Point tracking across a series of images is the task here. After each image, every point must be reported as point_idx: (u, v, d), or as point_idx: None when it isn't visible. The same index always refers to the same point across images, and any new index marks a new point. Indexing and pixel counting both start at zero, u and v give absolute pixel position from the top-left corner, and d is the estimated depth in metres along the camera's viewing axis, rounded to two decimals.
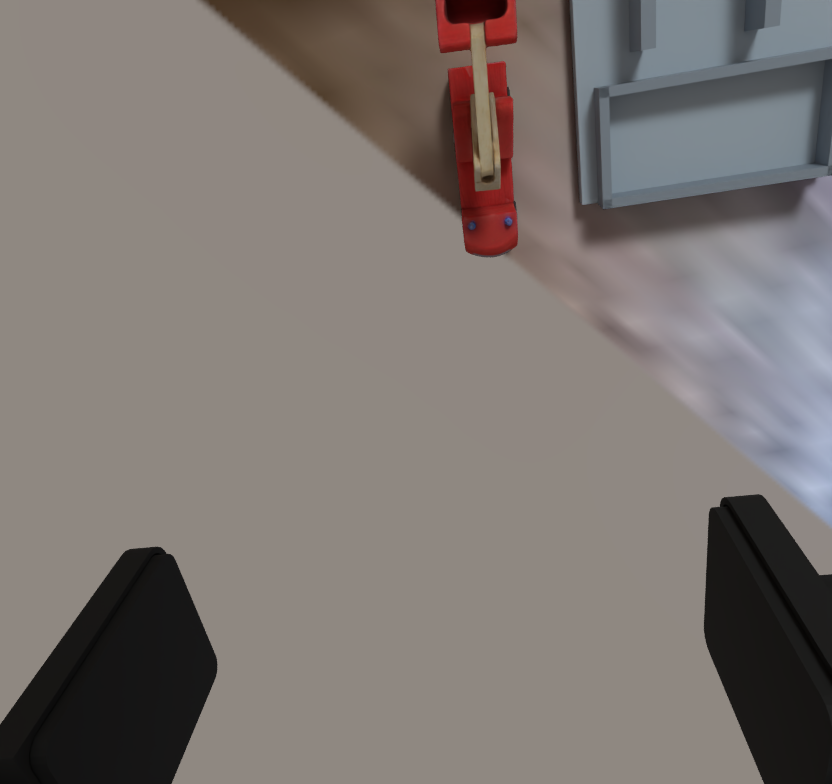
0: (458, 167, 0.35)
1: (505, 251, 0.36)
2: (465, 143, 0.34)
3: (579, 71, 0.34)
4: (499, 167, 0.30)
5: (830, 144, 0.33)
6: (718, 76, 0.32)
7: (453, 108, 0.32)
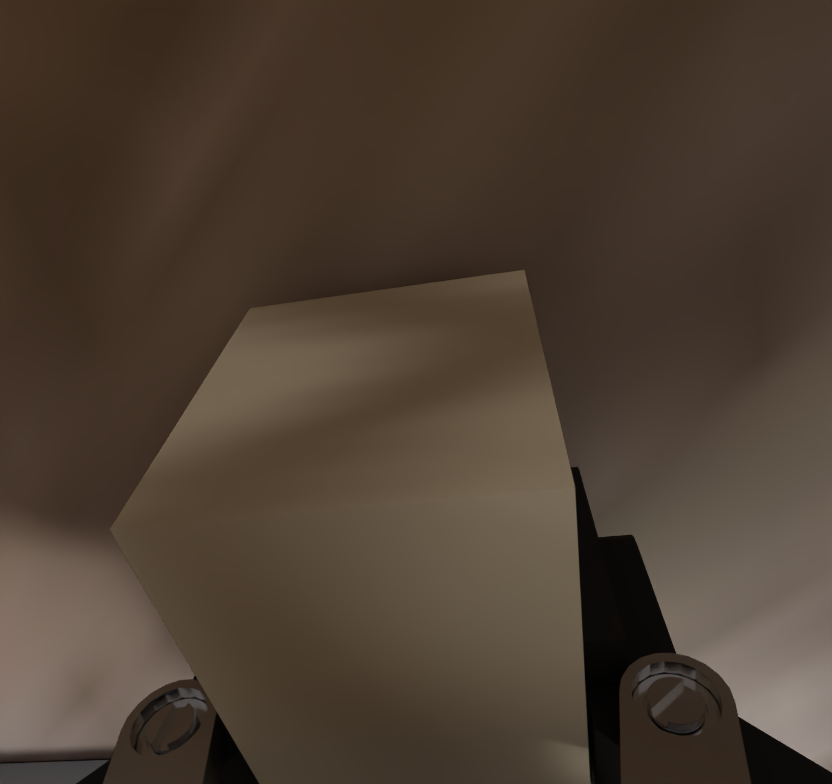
0: None
1: None
2: None
3: None
4: None
5: None
6: None
7: None
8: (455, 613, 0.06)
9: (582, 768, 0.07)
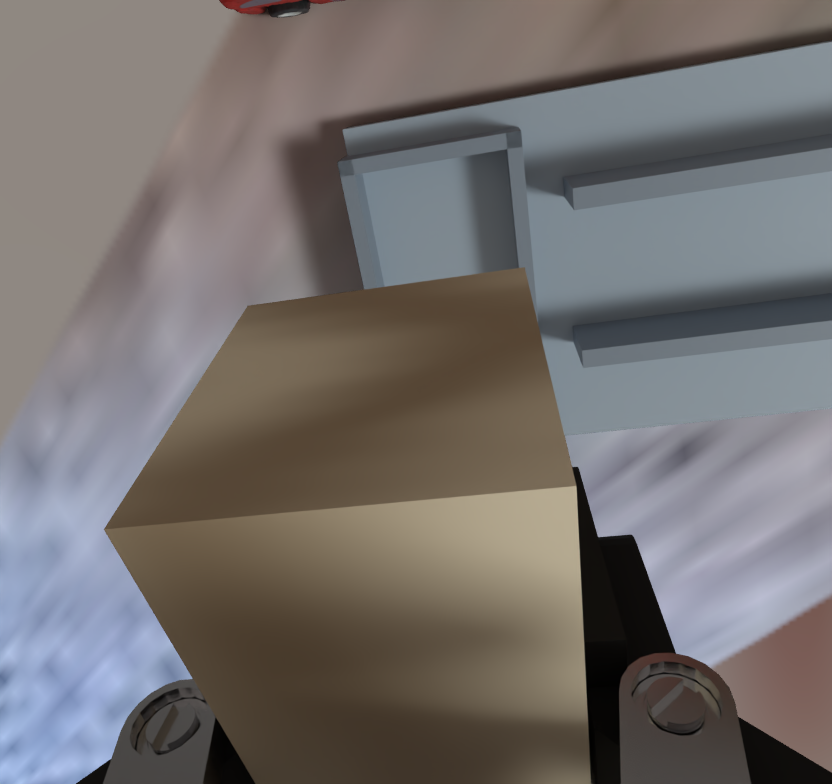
0: None
1: None
2: None
3: (542, 99, 0.22)
4: None
5: None
6: None
7: None
8: (456, 615, 0.06)
9: (583, 770, 0.07)
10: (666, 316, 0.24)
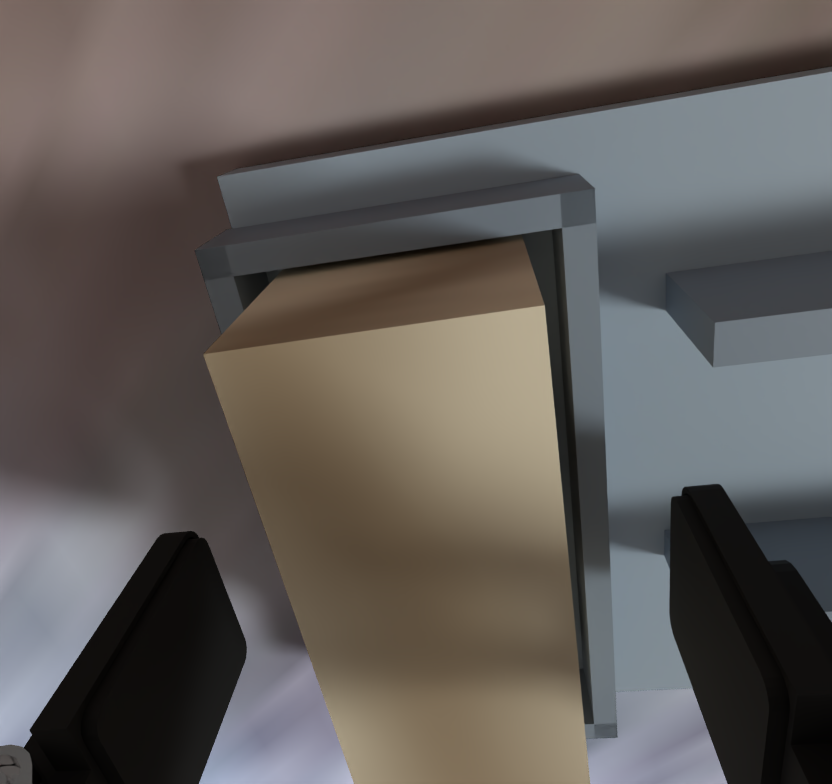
0: None
1: None
2: None
3: (634, 116, 0.10)
4: None
5: None
6: (585, 518, 0.12)
7: None
8: (460, 430, 0.08)
9: (566, 597, 0.09)
10: None
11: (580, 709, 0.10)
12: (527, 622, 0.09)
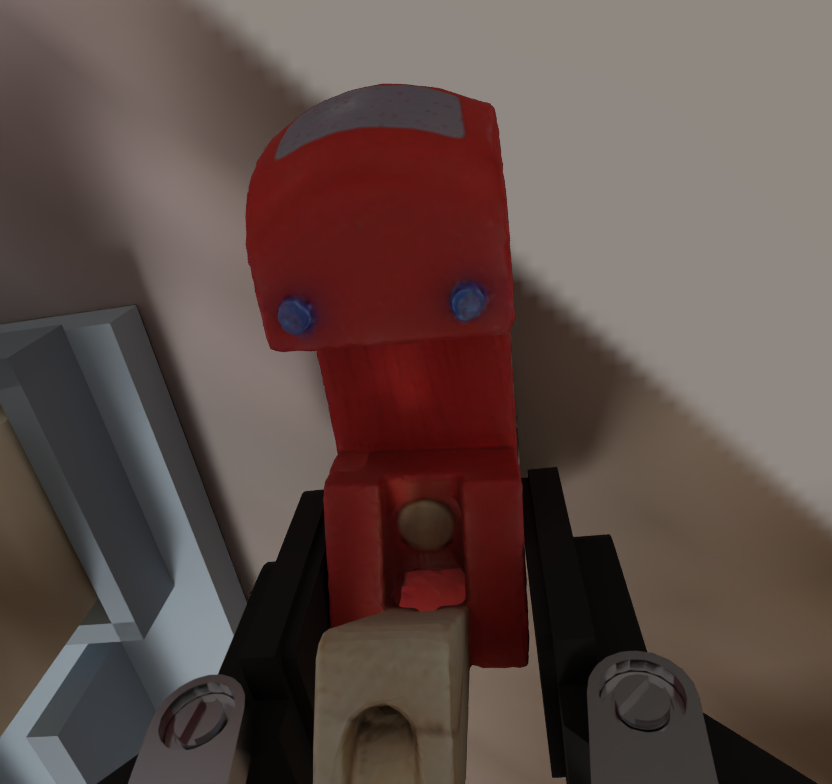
0: (511, 425, 0.10)
1: (297, 148, 0.07)
2: (487, 551, 0.10)
3: (217, 614, 0.14)
4: None
5: None
6: None
7: (525, 662, 0.10)
8: None
9: None
10: None
11: None
12: None
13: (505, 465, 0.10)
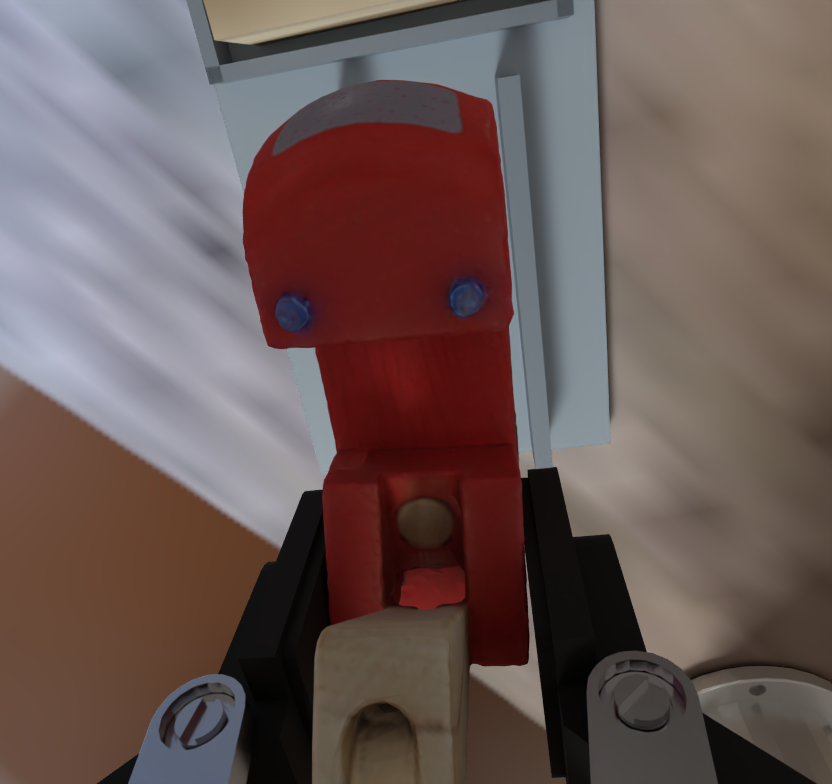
0: (511, 423, 0.10)
1: (295, 144, 0.07)
2: (487, 549, 0.10)
3: (590, 44, 0.22)
4: None
5: None
6: (387, 35, 0.21)
7: (525, 660, 0.10)
8: None
9: None
10: None
11: (327, 14, 0.18)
12: None
13: (504, 463, 0.10)
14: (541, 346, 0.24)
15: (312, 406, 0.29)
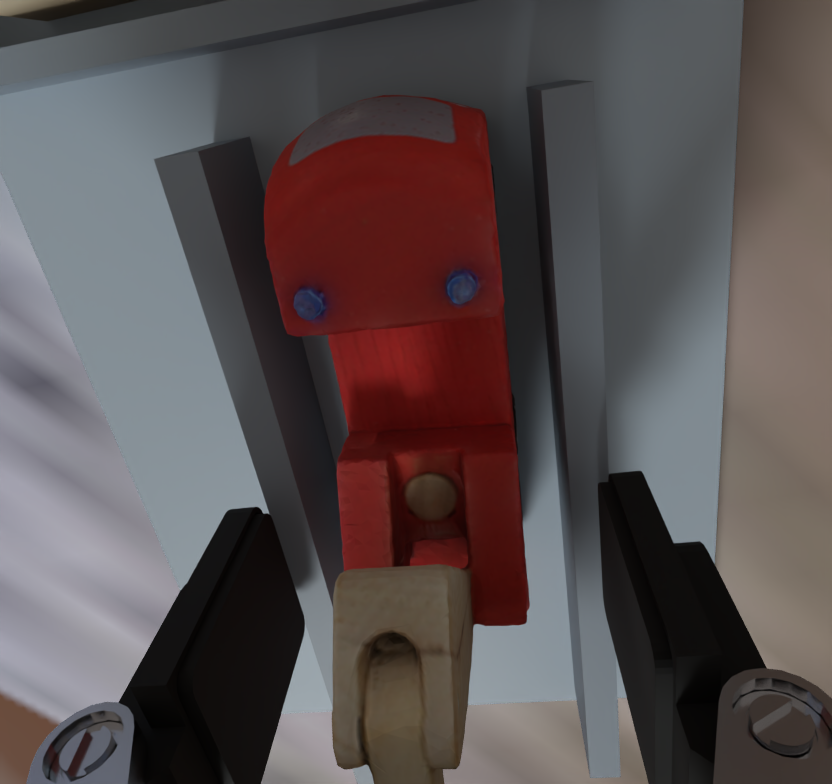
0: (508, 404, 0.11)
1: (308, 155, 0.08)
2: (487, 518, 0.10)
3: (732, 16, 0.10)
4: (336, 746, 0.06)
5: None
6: None
7: (524, 620, 0.11)
8: None
9: None
10: None
11: None
12: None
13: (502, 440, 0.11)
14: None
15: None
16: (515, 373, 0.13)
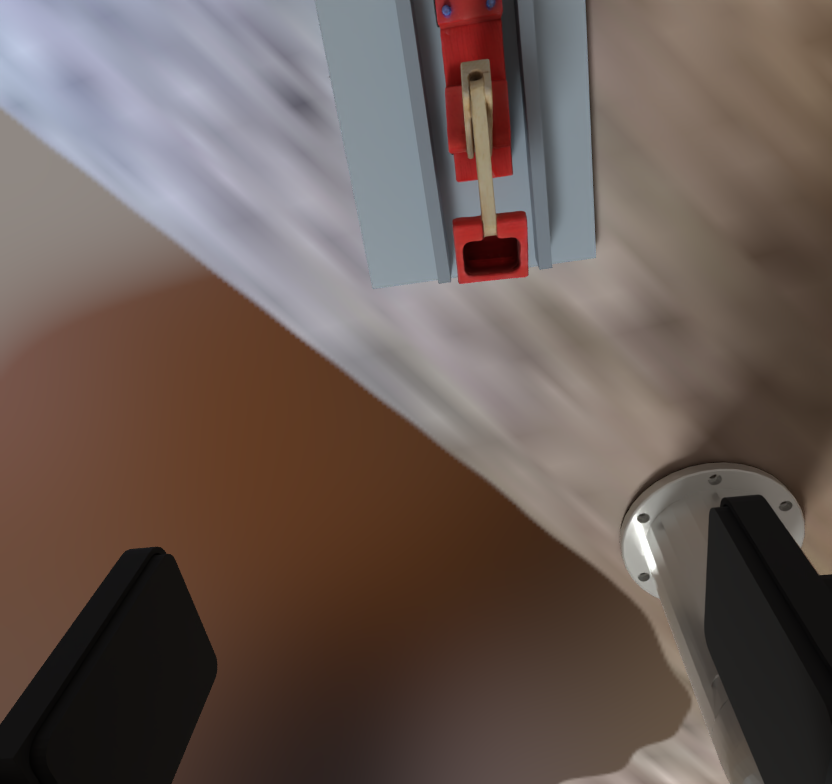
0: (504, 71, 0.31)
1: None
2: (497, 104, 0.31)
3: None
4: (463, 92, 0.27)
5: None
6: None
7: (509, 142, 0.31)
8: None
9: None
10: (421, 57, 0.33)
11: None
12: None
13: (502, 80, 0.31)
14: (543, 161, 0.33)
15: (368, 230, 0.38)
16: (507, 81, 0.34)
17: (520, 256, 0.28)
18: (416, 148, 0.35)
